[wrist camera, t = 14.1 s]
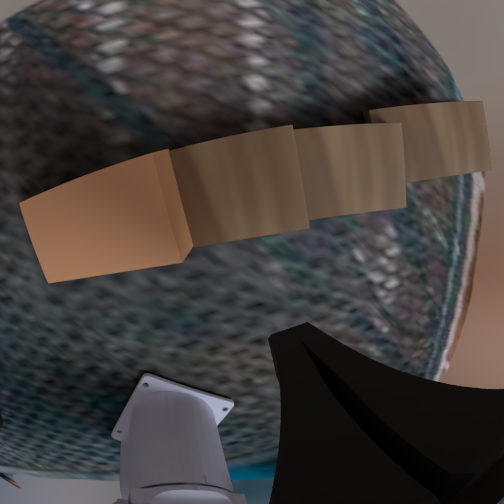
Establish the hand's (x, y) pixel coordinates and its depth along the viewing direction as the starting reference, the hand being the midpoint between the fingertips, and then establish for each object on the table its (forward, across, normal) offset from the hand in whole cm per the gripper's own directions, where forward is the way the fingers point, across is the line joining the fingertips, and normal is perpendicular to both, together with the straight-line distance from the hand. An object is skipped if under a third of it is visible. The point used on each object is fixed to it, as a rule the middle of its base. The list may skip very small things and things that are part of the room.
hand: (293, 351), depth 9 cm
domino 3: (+10, -2, -4) cm, 10 cm away
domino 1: (+10, +11, -4) cm, 15 cm away
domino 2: (+10, +5, -4) cm, 11 cm away
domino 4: (+9, -10, -5) cm, 15 cm away
